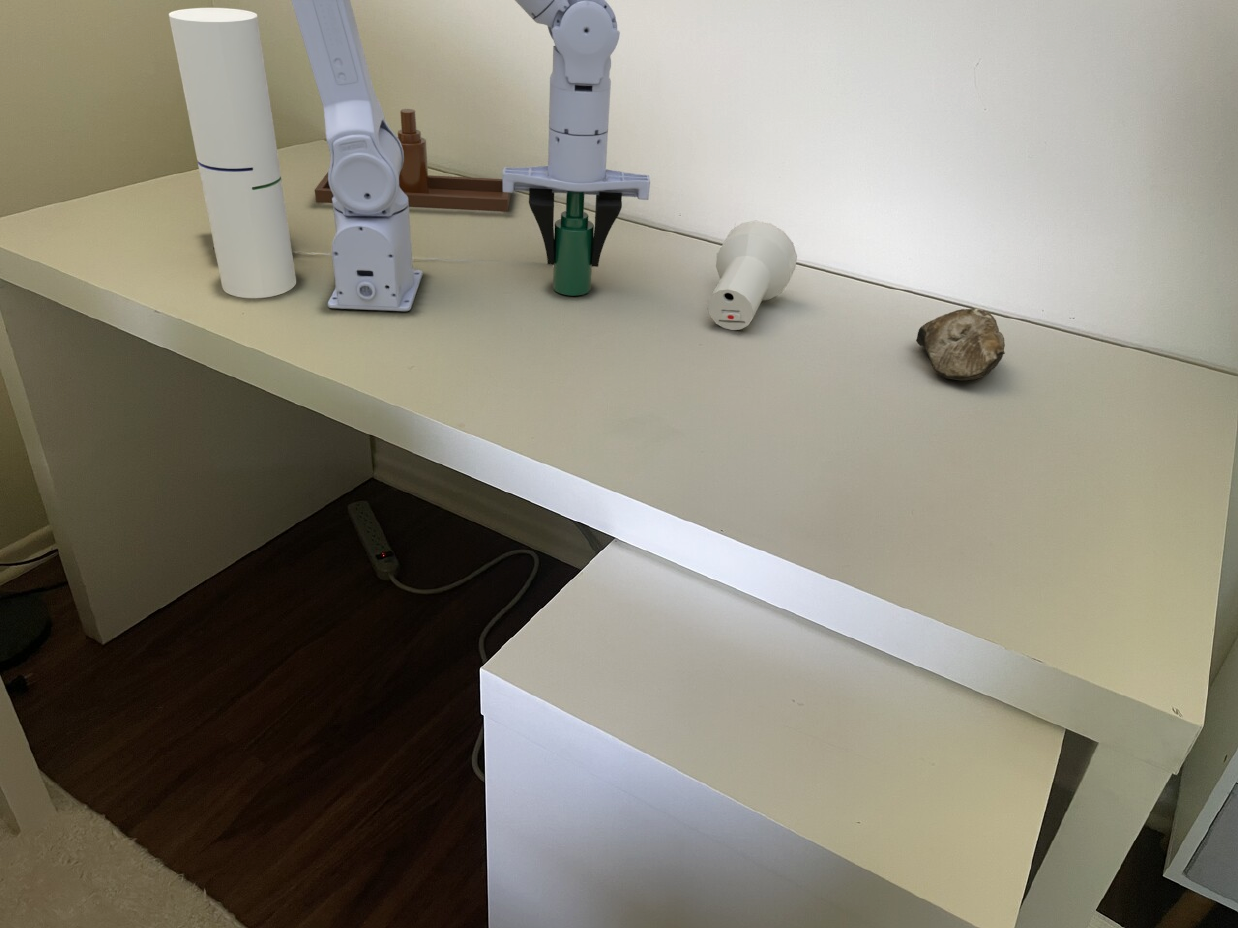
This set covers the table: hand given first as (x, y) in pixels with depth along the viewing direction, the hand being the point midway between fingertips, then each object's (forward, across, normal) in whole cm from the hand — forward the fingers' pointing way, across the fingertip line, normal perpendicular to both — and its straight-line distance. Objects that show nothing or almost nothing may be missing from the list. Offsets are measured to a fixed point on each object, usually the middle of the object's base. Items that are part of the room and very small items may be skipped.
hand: (573, 262), depth 95 cm
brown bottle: (+3, +20, -26) cm, 33 cm away
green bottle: (+3, 0, 0) cm, 3 cm away
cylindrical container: (+3, +32, +2) cm, 32 cm away
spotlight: (+3, -18, +3) cm, 19 cm away
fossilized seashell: (+3, -37, +14) cm, 40 cm away
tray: (+3, +20, -26) cm, 33 cm away
